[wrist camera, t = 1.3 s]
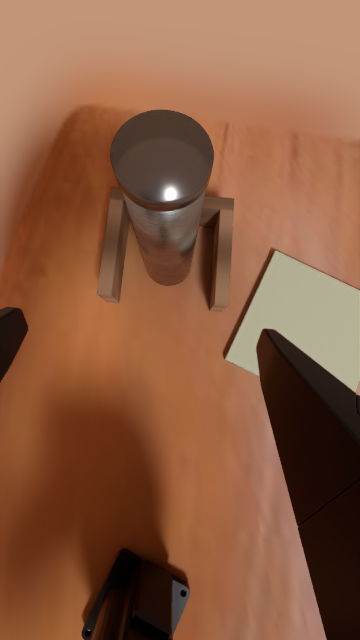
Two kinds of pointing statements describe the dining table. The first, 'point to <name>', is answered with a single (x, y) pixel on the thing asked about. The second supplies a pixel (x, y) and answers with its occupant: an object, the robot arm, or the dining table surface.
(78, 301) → the dining table surface
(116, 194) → the cubby
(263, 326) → the tile
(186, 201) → the canister
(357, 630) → the robot arm
